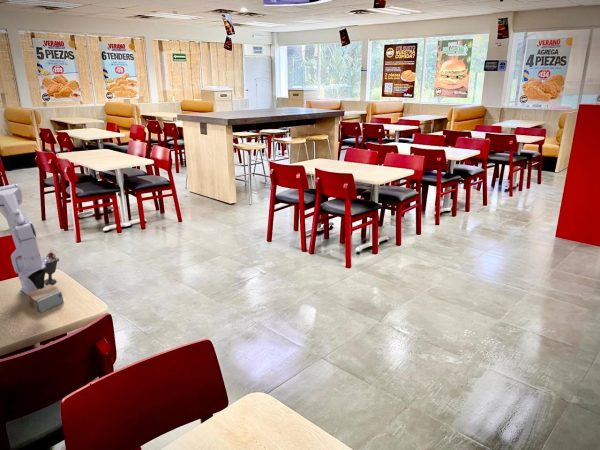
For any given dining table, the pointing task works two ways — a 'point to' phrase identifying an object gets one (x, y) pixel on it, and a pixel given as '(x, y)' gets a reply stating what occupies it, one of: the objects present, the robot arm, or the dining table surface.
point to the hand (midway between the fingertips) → (40, 288)
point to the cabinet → (40, 295)
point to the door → (50, 301)
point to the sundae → (51, 268)
